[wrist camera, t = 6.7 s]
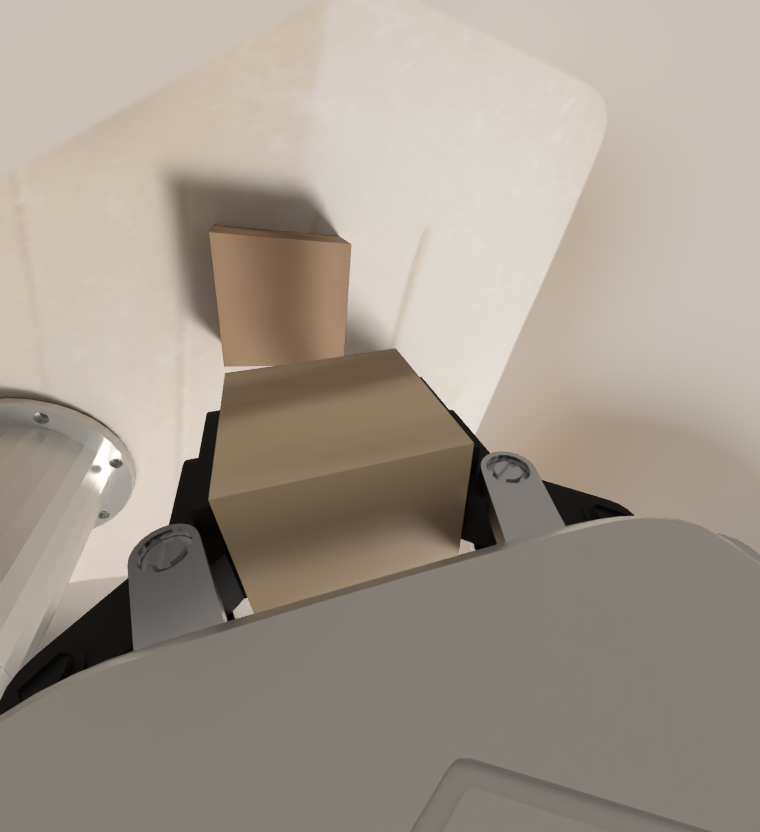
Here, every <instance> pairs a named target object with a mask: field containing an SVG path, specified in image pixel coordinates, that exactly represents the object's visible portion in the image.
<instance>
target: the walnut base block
mask: <svg viewBox="0 0 760 832" xmlns="http://www.w3.org/2000/svg"><path fill="white" fill-rule="evenodd" d="M209 237H210V245H211V254H212V263H213V272H214V281H215V290H216V299H217V307H218V316H219V325H220V334H221V343H222V352H223V361H224V366H279V365H286V364H293V363H299V362H306V361H313V360H320V359H327V358H334V357H341V356H344V347H345V332H346V317H347V302H348V287H349V271H350V256H351V244H350V243H348V242H347V241H345V240H344V239H342V238H341V237H339V236H329V235H318V234H307V233H296V232H285V231H274V230H263V229H252V228H241V227H230V226H219V225H214V226H213V228H212V229H211V230H210V232H209Z"/></svg>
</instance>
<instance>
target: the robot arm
mask: <svg viewBox="0 0 760 832" xmlns="http://www.w3.org/2000/svg"><path fill="white" fill-rule="evenodd" d="M420 378H421V380H422V381H423V382H424V383H425V385H426V386H427V387H428V388H429V389H430V391H431V392H432V393H433V394H434V395H435V397H436V398H437V399H438V400H439V401H440V403H441V404H442V405H443V406H444V407H445V409H446V410H447V411H448V412H449V414H450V415H451V416H452V417H453V418H454V420H455V421H456V422H457V423H458V424H459V426H460V427H461V428H462V429H463V430H464V432H465V433H466V434H467V435H468V436H469V438H470V439H471V440H472V441H473V442H474V447H473V454H472V461H471V469H470V476H469V483H468V490H467V497H466V504H465V511H464V519H463V526H462V533H461V539H463V540H466V541H468V542H469V548H470V552H469V553H465V554H462V555H458V556H454V557H451V558H447V559H444V560H440V561H437V562H433V563H429V564H426V565H422V566H419V567H415V568H412V569H408V570H405V571H401V572H398V573H394V574H391V575H387V576H384V577H380V578H377V579H373V580H370V581H366V582H363V583H359V584H356V585H352V586H349V587H345V588H342V589H338V590H335V591H331V592H328V593H324V594H321V595H317V596H314V597H310V598H307V599H303V600H300V601H297V602H293V603H290V604H286V605H283V606H279V607H276V608H272V609H269V610H266V611H262V612H259V613H255V614H252V615H249V616H245V617H242V618H238V619H237V617H236V614H235V611H234V609H235V608H236V607H237V606H238V605H239V604H240V603H241V601H242V600H243V599H244V598H248V597H247V595H246V592H245V590H244V587H243V585H242V582H241V580H240V577H239V575H238V572H237V570H236V567H235V565H234V562H233V560H232V557H231V555H230V553H229V550H228V548H227V545H226V543H225V540H224V538H223V535H222V533H221V530H220V528H219V525H218V523H217V520H216V518H215V515H214V513H213V510H212V508H211V505H210V503H209V500H208V499H209V491H210V484H211V476H212V469H213V461H214V454H215V446H216V439H217V431H218V424H219V416H220V410H219V411H213V412H208V413H207V415H206V421H205V426H204V431H203V437H202V442H201V447H200V453H199V458H195V459H190V460H186V461H185V462H184V464H183V468H182V472H181V476H180V480H179V485H178V489H177V493H176V498H175V502H174V506H173V510H172V515H171V519H170V523H169V525H168V526H165V527H162V528H159V529H158V530H156V531H154V532H152V533H150V534H149V535H147V536H146V537H145V538H143V539H142V540H141V541H140V542H139V543H138V544H137V545H136V546H135V548H134V549H133V551H132V552H131V554H130V556H129V560H128V579H127V580H125V581H124V582H123V583H122V584H121V585H119V586H118V587H117V588H116V589H114V590H113V591H112V592H111V593H110V594H108V595H107V596H106V597H105V598H104V599H103V600H101V601H100V602H99V603H98V604H97V605H95V606H94V607H93V608H92V609H91V610H89V611H88V612H87V613H86V614H85V615H83V616H82V617H81V618H80V619H79V620H77V621H76V622H75V623H74V624H73V625H71V626H70V627H69V628H68V629H67V630H65V631H64V632H63V633H62V634H61V635H59V636H58V637H57V638H56V639H55V640H53V641H52V642H51V643H50V644H49V645H48V646H46V647H45V648H44V649H43V650H42V651H40V652H39V653H38V654H37V652H38V650H39V647H40V645H41V643H42V641H43V638H44V636H45V634H46V632H47V629H48V627H49V625H50V623H51V620H52V618H53V616H54V614H55V611H56V609H57V607H58V605H59V602H60V600H61V598H62V596H63V593H64V591H65V589H66V587H67V585H68V582H69V580H70V578H71V576H72V573H73V571H74V569H75V567H76V564H77V562H78V560H79V558H80V555H81V553H82V551H83V549H84V546H85V544H86V542H87V540H88V537H89V535H90V533H91V531H92V529H94V528H96V527H98V526H101V525H103V524H105V523H106V522H108V521H109V520H111V519H112V518H114V517H115V516H116V515H117V514H118V513H119V512H120V511H121V510H122V509H123V508H124V507H125V505H126V504H127V502H128V500H129V499H130V497H131V494H132V491H133V488H134V485H135V478H136V472H135V466H134V462H133V460H132V457H131V455H130V453H129V451H128V450H127V448H126V447H125V446H124V444H123V443H122V442H121V440H120V439H119V438H118V437H117V436H115V435H114V434H113V433H112V432H111V431H110V430H109V429H108V428H106V427H105V426H103V425H102V424H100V423H99V422H97V421H95V420H94V419H92V418H90V417H88V416H86V415H84V414H82V413H79V412H77V411H75V410H72V409H69V408H66V407H63V406H60V405H57V404H53V403H48V402H43V401H37V400H32V399H16V398H3V399H0V832H760V555H759V554H758V553H757V552H755V551H754V550H753V549H752V548H750V547H749V546H748V545H746V544H744V543H742V542H740V541H739V540H737V539H734V538H731V537H728V536H725V535H722V534H717V533H715V532H713V531H711V530H709V529H707V528H705V527H702V526H700V525H697V524H694V523H691V522H687V521H683V520H679V519H672V518H667V517H654V516H634V515H633V514H632V513H631V512H630V511H629V510H628V509H626V508H624V507H623V506H621V505H619V504H617V503H615V502H612V501H610V500H606V499H603V498H600V497H597V496H593V495H590V494H587V493H583V492H580V491H577V490H573V489H570V488H567V487H563V486H560V485H557V484H553V483H550V482H547V481H543V480H541V478H540V476H539V474H538V472H537V470H536V468H535V467H534V466H533V464H532V463H531V462H530V461H529V460H527V459H526V458H524V457H522V456H520V455H518V454H515V453H511V452H494V453H491V454H490V453H489V451H487V449H486V448H485V447H484V446H483V445H482V443H481V442H480V441H479V440H478V439H477V437H476V436H475V435H474V434H473V433H472V432H471V430H470V429H469V428H468V427H467V426H466V425H465V423H464V422H463V421H462V420H461V419H460V417H459V416H458V415H457V414H456V413H455V412H454V411H453V410H449V409H448V408H447V407H446V406H445V405H444V403H443V402H442V401H441V400H440V399H439V397H438V396H437V395H436V394H435V393H434V391H433V390H432V389H431V388H430V387H429V385H428V384H427V383H426V382H425V381H424V380H423V378H422V377H420ZM36 654H37V655H36Z"/></svg>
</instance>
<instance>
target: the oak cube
mask: <svg viewBox="0 0 760 832" xmlns="http://www.w3.org/2000/svg"><path fill="white" fill-rule="evenodd" d="M473 447H474V442H473V441H472V440H471V439H470V438H469V436H468V435H467V434H466V433H465V432H464V430H463V429H462V428H461V427H460V426H459V424H458V423H457V422H456V421H455V420H454V418H453V417H452V416H451V415H450V414H449V412H448V411H447V410H446V409H445V407H444V406H443V405H442V404H441V403H440V401H439V400H438V399H437V398H436V397H435V395H434V394H433V393H432V392H431V391H430V389H429V388H428V387H427V386H426V385H425V383H424V382H423V381H422V380H421V378H420V377H419V376H418V375H417V374H416V372H415V371H414V370H413V369H412V368H411V366H410V365H409V364H408V363H407V362H406V360H405V359H404V358H403V357H402V356H401V354H400V353H399V352H398V351H397V350H396V349H389V350H382V351H375V352H368V353H361V354H354V355H348V356H341V357H334V358H327V359H320V360H313V361H306V362H299V363H293V364H286V365H279V366H272V367H265V368H258V369H251V370H244V371H238V372H231V373H225V378H224V386H223V393H222V401H221V408H220V416H219V424H218V431H217V439H216V446H215V454H214V461H213V469H212V476H211V484H210V491H209V499H208V500H209V503H210V505H211V508H212V510H213V513H214V515H215V518H216V520H217V523H218V525H219V528H220V530H221V533H222V535H223V538H224V540H225V543H226V545H227V548H228V550H229V553H230V555H231V557H232V560H233V562H234V565H235V567H236V570H237V572H238V575H239V577H240V580H241V582H242V585H243V587H244V590H245V592H246V595H247V597H248V600H249V602H250V605H251V607H252V609H253V612H254V614H255V613H259V612H262V611H266V610H269V609H272V608H276V607H279V606H283V605H286V604H290V603H293V602H297V601H300V600H303V599H307V598H310V597H314V596H317V595H321V594H324V593H328V592H331V591H335V590H338V589H342V588H345V587H349V586H352V585H356V584H359V583H363V582H366V581H370V580H373V579H377V578H380V577H384V576H387V575H391V574H394V573H398V572H401V571H405V570H408V569H412V568H415V567H419V566H422V565H426V564H429V563H433V562H437V561H440V560H444V559H447V558H451V557H454V556H458V554H459V547H460V540H461V533H462V526H463V519H464V511H465V504H466V497H467V490H468V483H469V476H470V469H471V461H472V454H473Z"/></svg>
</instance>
